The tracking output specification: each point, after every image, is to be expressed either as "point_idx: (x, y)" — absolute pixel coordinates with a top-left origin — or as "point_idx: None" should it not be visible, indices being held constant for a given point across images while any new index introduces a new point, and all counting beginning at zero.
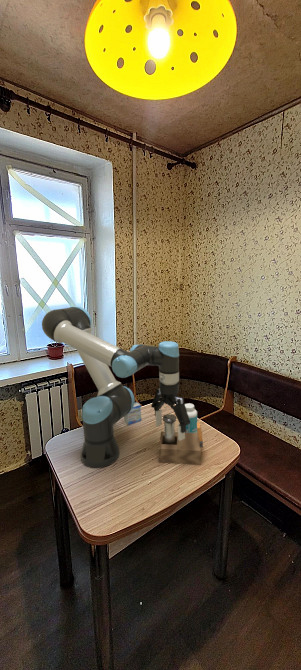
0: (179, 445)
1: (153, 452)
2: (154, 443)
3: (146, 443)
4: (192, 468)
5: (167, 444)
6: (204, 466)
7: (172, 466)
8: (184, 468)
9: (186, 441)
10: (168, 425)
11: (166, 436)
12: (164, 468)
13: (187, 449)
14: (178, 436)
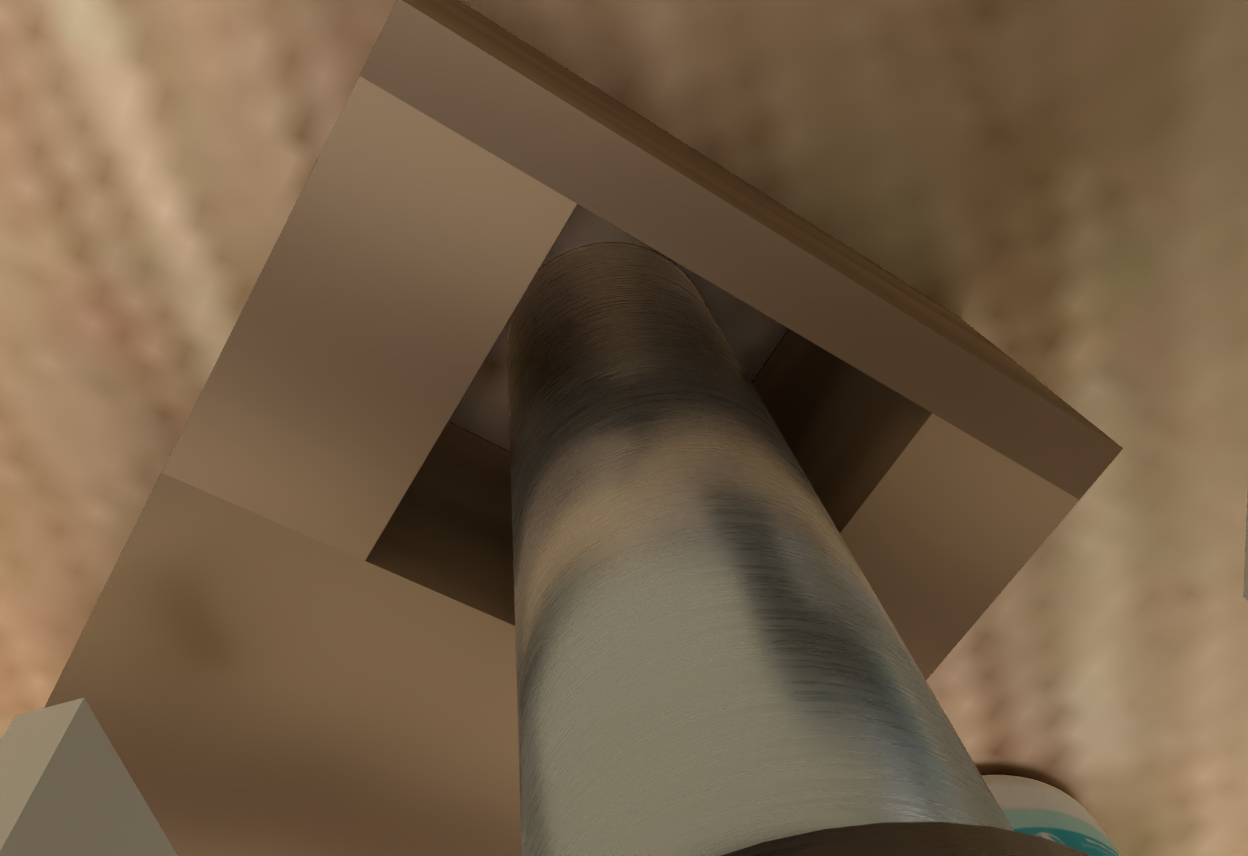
0: (313, 602)
1: (805, 31)
2: (1065, 196)
3: (1177, 26)
4: (24, 518)
5: (489, 348)
6: (23, 708)
7: (196, 203)
8: (65, 391)
9: (408, 796)
10: (581, 830)
11: (615, 451)
12: (186, 8)
13: (87, 696)
14: (14, 806)
